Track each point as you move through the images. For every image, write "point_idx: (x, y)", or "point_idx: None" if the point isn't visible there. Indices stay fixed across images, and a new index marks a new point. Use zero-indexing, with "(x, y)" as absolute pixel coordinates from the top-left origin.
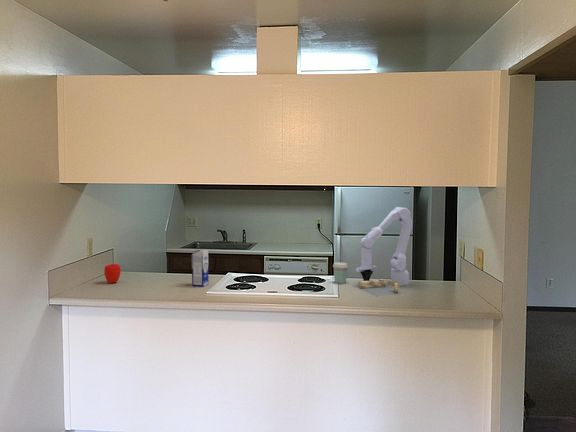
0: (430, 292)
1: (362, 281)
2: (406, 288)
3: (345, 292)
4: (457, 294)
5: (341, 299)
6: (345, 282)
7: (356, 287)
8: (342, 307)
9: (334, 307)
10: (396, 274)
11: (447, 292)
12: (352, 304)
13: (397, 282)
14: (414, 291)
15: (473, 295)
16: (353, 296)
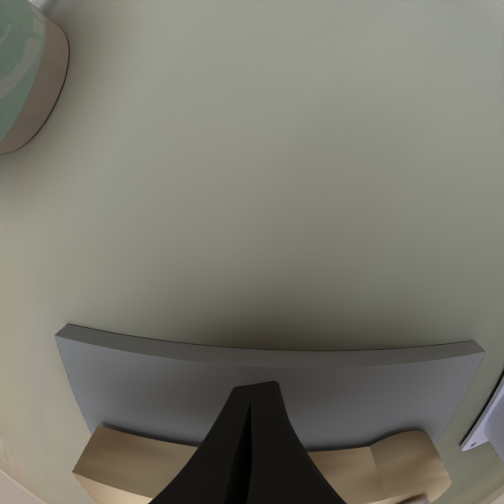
0: (470, 494)
1: (123, 496)
2: (489, 446)
3: (8, 403)
4: (488, 497)
5: (7, 455)
6: (26, 119)
7: (82, 408)
8: (22, 489)
9: (3, 475)
10: None
11: (500, 483)
12: (47, 499)
13: (499, 456)
14: (448, 492)
15: (497, 497)
16: (51, 471)
